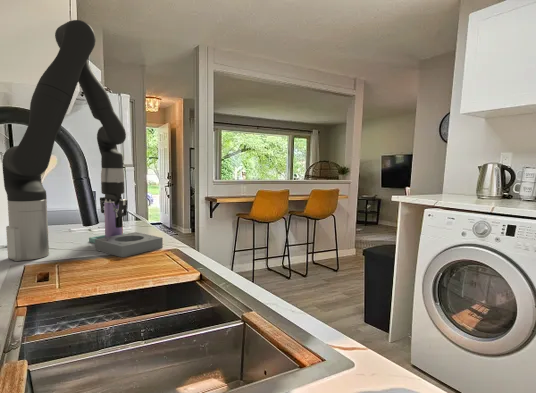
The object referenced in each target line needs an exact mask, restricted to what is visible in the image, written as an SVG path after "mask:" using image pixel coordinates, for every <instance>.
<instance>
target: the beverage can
mask: <svg viewBox="0 0 536 393" xmlns="http://www.w3.org/2000/svg"><path fill="white" fill-rule="evenodd" d="M112 203H113V204H112ZM112 203H111V202H109V201H105V203H104V213H103V215H104V235H105V237H111V236H116V235H122V234H123V233H124V224H123V225H122V227H120V228H116V219H115V218H116V216H115V212H113V205H114V206H115V208H116V209H118V208H119V205H117V206H116V205H115V203H114V202H112ZM117 212H118V213H119V211H117ZM123 217H124V216H123ZM123 217H122V222H123V223H124V221H123V220H124V218H123Z"/></svg>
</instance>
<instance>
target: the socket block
mask: <svg viewBox="0 0 536 393" xmlns="http://www.w3.org/2000/svg"><path fill="white" fill-rule="evenodd" d="M163 244H164V243H163V236H157V235H151V234H149V233H148V234H147V233H142V232H138V231H134V232H129V233H125V234H122V235H116V236H111V237H105V238H100V239H95V243H94V245H95V246H94V248H95V251H99V252H102V253H104V254H105V253H106V254H108V255H112V256H116V257H118V258H122V257H123V258H126V257H130V256H134V255H139V254H142V253H146V252H150V251H155V250H158V249H162V248H163Z"/></svg>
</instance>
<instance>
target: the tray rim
mask: <svg viewBox="0 0 536 393" xmlns="http://www.w3.org/2000/svg"><path fill="white" fill-rule="evenodd" d="M123 234H126V233H125V232H123ZM100 238H105V234H103V235H97V236H92V237H88V242H89V243H92V244H95V239H100Z"/></svg>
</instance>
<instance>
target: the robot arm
mask: <svg viewBox="0 0 536 393" xmlns="http://www.w3.org/2000/svg"><path fill="white" fill-rule="evenodd" d="M54 39H55V42H56V44H57V46H58V48H59V50H58V52H57V55H56V57H55V58H54V60H53V61H52V62H51V63H50V65H48V67H47V68H46V69H45V70H44V72H43V73H42V74H41V76H40V78H39V80H38V82H37V84H36V86H35V89H34V91H33V93H32V96H31V100H30V106H29V118H28V119H29V120H28V124H27V128H26V130H25V132H24V134H23V137H22V139H21V140H20V142H19V143H18V145H15V146H11V147H10V148H8V149H7V150H6V151H5V152H4V153H3V156H2V164H1V165H2V178H3V186H4V189H5V192H6V198H7V212H8V214H7V216H8V225H6V228H5V230H6V246H7V259H10V260H12V261H15V262H20V261H31V260H36V259H40V258H44V257H47V256H49V254H50V246H49V245H50V244H49V226H48V225H49V224H48V223H49V222H48V221H49V220H48V204H47V202H48V201H47V190H46V188H44V186H43V183H42V175H43V174H44V173H45V172H46V170H47V169H48V167H49V165H50V161H51V157H52V152H53V148H54V145H55V142H56V138H57V136H58V133H59V131H60V129H61V127H62V124H63V122H64V119H65V116H66V114H67V112H68V110H69V108H70V106H71V102H72V100H73V96H74V94H75V92H76V91H75V90H76V89H77V86H78V84H79V86H80V87H81V90H82V92H83V96H84V97H85V100H86V103H87V106H88V108H89V111H90V112H91V114H92V117H93V118H94V119H95V120H98V121H99V122H100V124H101V126H100V127H99V128H98V130H97V134H96V140H97V147H98V150H99V153H100V156H101V161H100V162H101V164H100V165H101V171H100V172H101V173H100V181H101V182H100V184H101V185H100V186H101V187H100V188H101V189H100V190H101V191H100V192H101V194H103V195H104V196H102V197H99V204H100V206H99V207H100V212H101V214H104V203H105V201H109V202H111V203H112V202H114V203H115V205H116V206H117V205H119V208H118V209H116V208H115V206H114V205H113V212H115V216H116V218H115V219H116V228H120V227H122V225H123V226H124V221H123V222H122V217H125V216H127V214H128V213H127V212H128V199H127V198H125V199H123V197H122V195H123V194H124V193H125V173H124V158H123V157H124V156H123V154H122V152H119V151H118V150H119V149H118V146H117V145H121V144H123V143H125V141H126V138H127V133H126V130H125V126H124V125H123V123H122V121H121V120H120V118H119V117H118V115H117V114H116V113H115V111H114V107H113V105H112V103H111V99H110V97H109V95H108V92H107V90H106V89H105V87H104V85H103V83H102V82H101V81H100V80H99V79H98V77H97V76H96V73H94V71H93V69H92V67H91V65H90V62H89V57H90V55H91V54H92V52H93V50H94V48H95V46H96V35H95V30H93V28H92V26H91V25H90V24H89V23H87V22H86V21H83V20H81V19H72V20H69V21H67V22H65V23H63V24H62V25H59V26H58V27H57V29H56V30H55V32H54ZM112 204H113V203H112ZM117 211H119V213H118V212H117Z"/></svg>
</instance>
